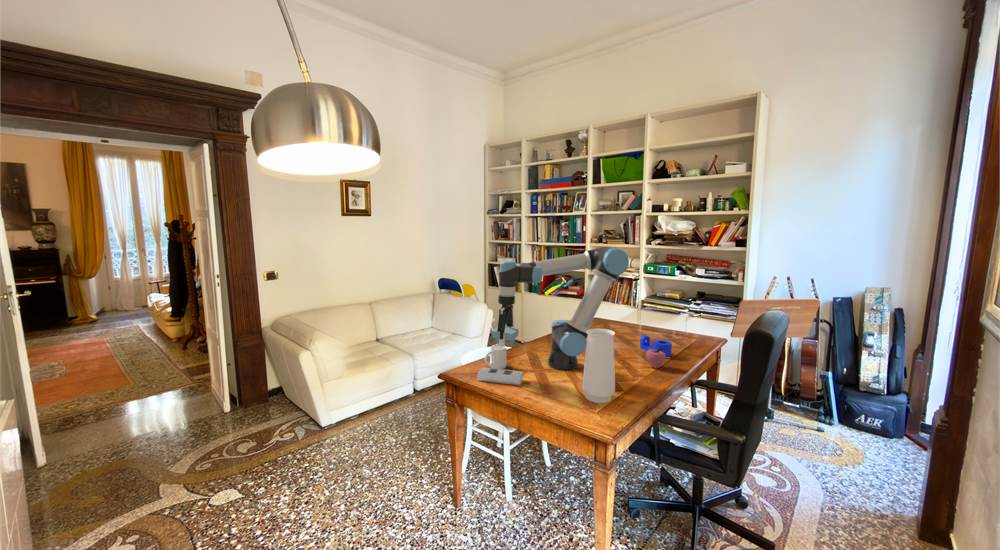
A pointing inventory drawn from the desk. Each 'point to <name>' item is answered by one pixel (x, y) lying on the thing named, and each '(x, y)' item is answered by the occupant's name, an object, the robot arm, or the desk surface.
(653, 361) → the apple
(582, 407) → the desk surface
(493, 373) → the grey block with holes
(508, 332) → the pale blue memo pad
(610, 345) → the vase
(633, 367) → the desk surface
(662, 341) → the bracket
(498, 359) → the mug
